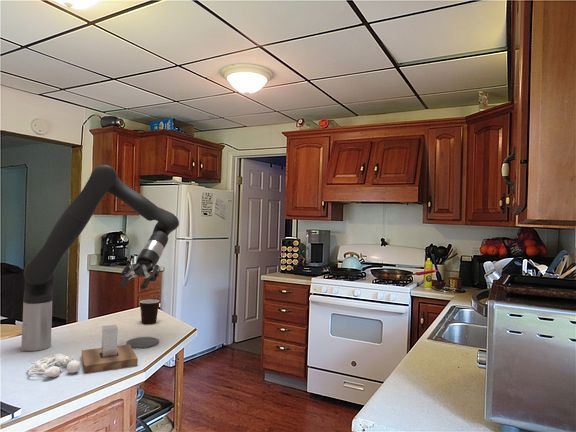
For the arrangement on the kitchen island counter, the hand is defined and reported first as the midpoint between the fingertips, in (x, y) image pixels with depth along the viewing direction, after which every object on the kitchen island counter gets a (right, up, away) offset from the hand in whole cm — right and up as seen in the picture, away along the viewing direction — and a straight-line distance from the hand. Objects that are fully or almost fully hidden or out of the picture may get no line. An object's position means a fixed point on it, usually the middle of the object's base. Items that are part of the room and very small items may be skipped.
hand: (132, 287), depth 150 cm
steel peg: (-4, -24, -11) cm, 26 cm away
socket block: (-4, -24, -11) cm, 26 cm away
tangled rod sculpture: (-18, -24, -20) cm, 36 cm away
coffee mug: (-7, -24, +40) cm, 47 cm away
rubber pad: (+1, -24, +9) cm, 25 cm away
